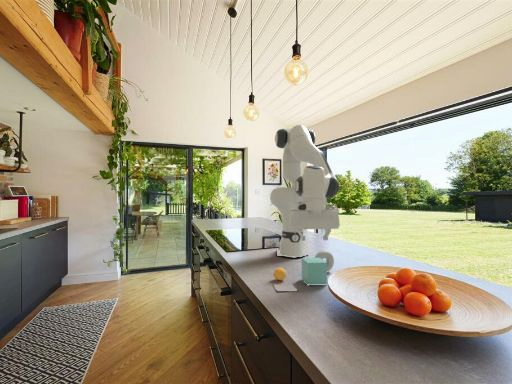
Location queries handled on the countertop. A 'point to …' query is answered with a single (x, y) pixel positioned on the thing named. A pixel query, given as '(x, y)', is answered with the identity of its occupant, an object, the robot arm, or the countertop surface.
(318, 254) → the donut
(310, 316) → the countertop surface
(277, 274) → the ball
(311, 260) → the teal cube
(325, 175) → the robot arm
